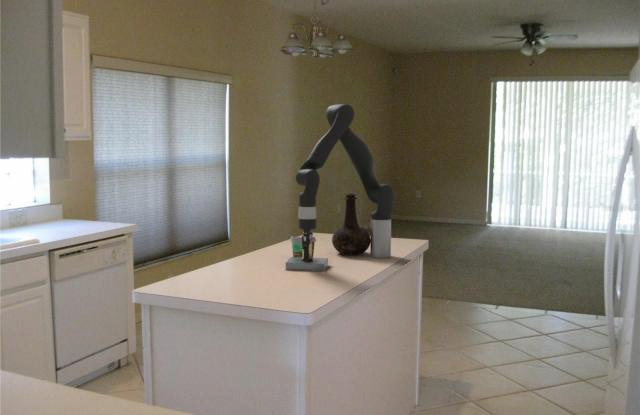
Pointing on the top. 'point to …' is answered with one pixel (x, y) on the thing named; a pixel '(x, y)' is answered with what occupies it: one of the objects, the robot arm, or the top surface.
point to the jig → (307, 264)
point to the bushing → (309, 254)
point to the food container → (300, 246)
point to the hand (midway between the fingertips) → (307, 257)
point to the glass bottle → (351, 232)
